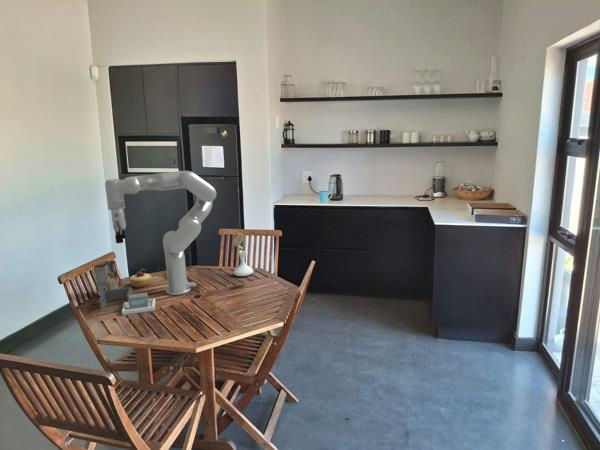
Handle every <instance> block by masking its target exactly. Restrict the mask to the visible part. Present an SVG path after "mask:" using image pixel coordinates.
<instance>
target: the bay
mask: <svg viewBox="0 0 600 450" xmlns="http://www.w3.org/2000/svg"><path fill="white" fill-rule="evenodd" d="M131 294H134V293H133V286H130V287H129V286H128V287H127V286H126V287H121V288H120V287H119V289H111V290H106V291H103V292H102V294H101V296H99V299H98V301H99V308H100V309H99V310H101V309H103V310H104V308H105V307H106V303H107V301H113V300H121V299H122V300H123V299H126V300H127V301H126V302H129V299H128V298H129V295H131Z"/></svg>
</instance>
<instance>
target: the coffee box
mask: <svg viewBox="0 0 600 450" xmlns="http://www.w3.org/2000/svg"><path fill="white" fill-rule="evenodd" d="M116 265H117V263H116V260H111V261H110V260H105V261H102V262H100V263H98V264H96V265H93V266H94V267H93V268H94V273H95V281H96V287H97V295H98V296H99V297H101V294H102V292H103V291H106V290H111V289H119V288H120V285H119V279H118V271H117V266H116Z"/></svg>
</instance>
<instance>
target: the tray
mask: <svg viewBox="0 0 600 450" xmlns="http://www.w3.org/2000/svg"><path fill="white" fill-rule="evenodd" d="M148 303H149V306H148V307H145V308H137V309H130V306H129V302H128V301H124V302H123V305H122V309H121V316H122V317H123V316H127V315H128V316H129V315H136V314H143V313H149V312H151V313H152V312H155V310H156V298H155V297H154V298H148Z"/></svg>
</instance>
